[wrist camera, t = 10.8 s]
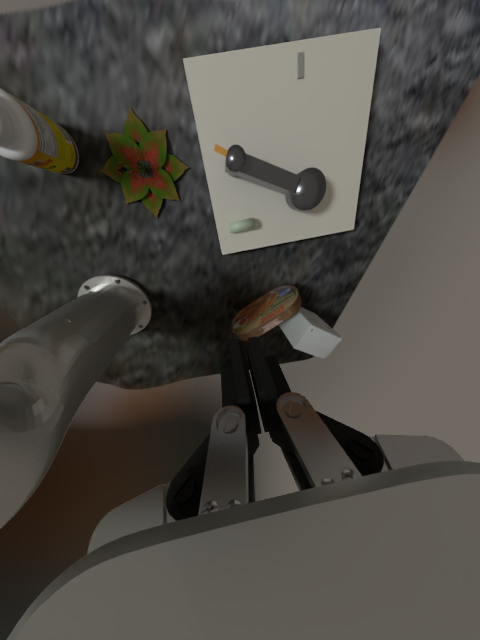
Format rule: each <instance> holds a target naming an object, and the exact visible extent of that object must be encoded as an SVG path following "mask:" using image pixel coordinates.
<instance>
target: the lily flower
mask: <svg viewBox="0 0 480 640" xmlns="http://www.w3.org/2000/svg"><path fill="white" fill-rule="evenodd" d="M104 133H105V135H106V137H107V140H108V142H109V147H110V149H111V152H112V154H113V156H112V157H110V158H109V159H108V160H107V162H106V163H105V165H104V169H103V168H102V169H101V170H100V172H103V173H104V174H106V175H107V176H110V178H111V179H113V180H115V181H116V182H118V183H121V184H122V190H123V194H124V197H125V198H126V204H128V203H131V202H132V201H137V200H140V199H141V201H142V202H143V204H144V205H145V206H146V208H147V209H148V210H149V211H150V212H151V213H153V214H154V216H155V217H156V218H157V215H158V213H159V210H160V208H161V205H162V201H163V198H164V199H170V200H174V199H176V200H177V201H180V200H179V198H178V195H177V192H176V189H175V186H174V183H173V182H174V181H175V180H177V179H178V178H179V177H180V176H181V175H182V174H183V173H184V170H186V169H188V168H189V167H187V166H186V165H185V164H183V163H182V162H180V161H179V160H178V159H177V158H176V157H174V156H173V155H171V154H168V153H166V148H167V144H166V136H165V134H166V129H164V130H159V131H158V132H156V131H151V132H148V131H147V130H146V128H145V126H144V125H143V123H142V122H141V121H140V120H139V118H138V117H137V116H136V115H134V112H133V111H132V109H131V107H130V112H129V114H128V120H126V122H125V126H124V134H120V133H110V134H109V133H108V132H104ZM137 136H138V138H139V140H140V148H139V147H138V145H137V144H136V143H137V139H138V138H137ZM137 161H140V162H141V164H139V165H141V166H139V168H138V167H137V166H138V165H137ZM142 161H147V162H148V161H150V163H151V165H150V166H152V170H153V177H149V178H144V177H143V178H141V176H140V173H141V172H145V173H146V171H147V170H148V168H149V167H150V166H149V167H148V168H147V169H146V167H145V163H147V162H145V163H143V164H142ZM140 162H139V163H140ZM162 166H163V167H165V168H166V170H163V169H161V167H162ZM122 167H125V168H126V169H128V170H127V171H126V172H125V173H123V172H121V171H117V170H120V169H122ZM140 167H142V168H140ZM138 170H140V171H138ZM145 173H144V176H145ZM149 188H150V190H151V191H152V195H151V193H150V192H149V191H148V190H149Z"/></svg>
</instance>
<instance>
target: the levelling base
mask: <svg viewBox="0 0 480 640" xmlns="http://www.w3.org/2000/svg"><path fill="white" fill-rule="evenodd" d="M380 32H381V28H375V29H369V30H363V31H356V32H350V33H344V34H337V35H331V36H324V37H318V38H312V39H305V40H299V41H292V42H286V43H280V44H273V45H267V46H261V47H254V48H248V49H241V50H235V51H229V52H222V53H216V54H210V55H203V56H197V57H190V58H184V59H183V62H184V67H185V72H186V77H187V82H188V87H189V92H190V97H191V102H192V107H193V112H194V117H195V122H196V127H197V132H198V137H199V142H200V147H201V152H202V157H203V162H204V167H205V172H206V177H207V182H208V187H209V192H210V197H211V202H212V207H213V212H214V217H215V221H216V226H217V231H218V236H219V241H220V246H221V251H222V255H224V254H230V253H235V252H240V251H245V250H250V249H255V248H261V247H266V246H271V245H276V244H281V243H287V242H292V241H297V240H302V239H307V238H313V237H318V236H323V235H328V234H333V233H338V232H344V231H349V230H354V224H355V217H356V209H357V202H358V194H359V187H360V180H361V172H362V165H363V158H364V150H365V143H366V135H367V128H368V121H369V113H370V106H371V98H372V91H373V84H374V76H375V69H376V61H377V54H378V47H379V39H380ZM232 145H240V146H241V147H242V148H243V149H244V151H245V153H246V154H248V155H251V156H253V157H256V158H258V159H261V160H263V161H265V162H268V163H270V164H273V165H275V166H277V167H280V168H282V169H285V170H287V171H290V172H292V173H294V174H297V173H299V172H301V171H303V170H305V169H307V168H311V167H314V168H317V169H319V170H320V171H321V172H322V173H323V174H324V176H325V179H326V191H325V195H324V197H323V199H322V201H321V202H320V203H319V204H318V205H317V206H316V207H315V208H313V209H311V210H303V211H295V210H293V209H291V208H290V207H289V206H288V204H287V202H286V198H285V194H282V193H280V192H277V191H274V190H272V189H269V188H266V187H264V186H261V185H258V184H256V183H253V182H250V181H248V180H245V179H242V178H240V177H237V176H234V177H233V176H230V175H229V174H228V173H226V172H225V160H226V156H227V152H228V149H229V148H230V147H231V146H232Z"/></svg>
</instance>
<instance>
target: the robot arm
mask: <svg viewBox="0 0 480 640" xmlns="http://www.w3.org/2000/svg"><path fill="white" fill-rule="evenodd" d="M119 280H120V281H119ZM145 301H146V302H145ZM151 316H152V305H151V302H150V299H149V297H148V296H147V294H146V293H145V292H144V291H143V289H142V288H141V287H139V286H138V285H137V284H136V283H134V282H133V281H131V280H129V279H127V278H124V277H122V276H118V275H111V274H105V275H99V276H95V277H93V278H91V279H89V280H87V281H86V282H85V283H83V285H82V286H81V287H80V289H79V292H78V298H76V299H74V300H73V301H71V302H69V303H67V304H66V305H64V306H62V307H60V308H59V309H57V310H55V311H53V312H51V313H50V314H48V315H47V316H45V317H43V318H41V319H40V320H38V321H36V322H34V323H33V324H31V325H29V326H27V327H26V328H24V329H22V330H20V331H18V332H17V333H15V334H13V335H12V336H10V337H9V338H7V339H6V340H4V341H3V342H2V343H1V344H0V529H1V528H2V527H3V526H4V525H5V524H6V523H7V522H8V521H9V520H10V519H11V518H12V517H13V516H14V515H15V514H16V513H17V512H18V510H19V509H20V508H21V507H22V506H23V505H24V504H25V502H26V501H27V500H28V499H29V498H30V496H31V495H32V494H33V492H34V491H35V490H36V488H37V487H38V485H39V484H40V482H41V481H42V479H43V477H44V476H45V474H46V472H47V471H48V469H49V467H50V466H51V464H52V462H53V460H54V458H55V456H56V454H57V452H58V449H59V447H60V445H61V443H62V440H63V438H64V436H65V433H66V431H67V429H68V427H69V425H70V423H71V421H72V419H73V417H74V415H75V413H76V412H77V410H78V408H79V406H80V405H81V403H82V401H83V400H84V398H85V397H86V395H87V394H88V392H89V391H90V389H91V388H92V387H93V385H94V384H95V382H96V381H97V380H98V378H99V377H100V375H101V374H102V373H103V371H104V370H105V369H106V367H107V366H108V365H109V363H110V362H111V360H112V359H113V358H114V356H115V355H116V353H117V352H118V351H119V349H120V348H121V347H122V345H123V344H124V342H125V341H126V340H127V338H128V337H129V335H132V334H135V333H138V332H140V331H141V330H143V329H144V328H145V327H146V326H147V324H148V323H149V321H150V320H151ZM229 343H230V351H231V359H232V364H229V365H225V366H221V387H222V407H223V408H221V409H220V410H219V411H218V412H217V413H216V414H215V416H214V418H213V422H212V428H211V433H210V434H209V435H208V436H207V438H206V439H205V440H204V442H203V443H202V444H201V445H200V446H199V448H198V449H197V450H196V451H195V453H194V454H193V455H192V456H191V457H190V459H189V460H188V461H187V462H186V464H185V465H184V466H183V468H182V469H181V470H180V471H179V472H178V473H177V475H176V476H175V477H174V479H173V480H172V482H170V483H168V484H166V485H164V484H161V485H159V486H157V487H156V488H154V489H152V490H150V491H148V492H146V493H144V494H142V495H140V496H138V497H136V498H134V499H133V500H130V501H128V502H126V503H125V504H123V505H121V506H119V507H117V508H115V509H113V510H112V511H110V512H109V513H108V514H106V516H105V517H104V518H103V519H102V520H101V521H100V522H99V524H98V526H97V527H96V529H95V531H94V532H93V535H92V538H91V541H90V544H89V548H88V553H87V555H86V556H85V557H83V558H82V559H80V560H78V561H77V562H76V563H74V564H73V565H72V566H71V567H70V568H68V569H67V570H66V571H64V572H63V573H62V574H61V575H60V576H58V577H57V579H55V580H54V581H53V582H52V583H51V584H50V585H49V586H48V587H47V588H46V589H45V590H44V591H43V592H42V593H41V594H40V595H39V596H38V597H37V598H36V600H35V601H34V602H33V603H32V604H31V605H30V607H29V608H28V610H27V611H26V612H25V614H24V615H23V617H22V618H21V619H20V620H19V622H18V623H17V625H16V626H15V628H14V629H13V631H12V633H11V634H10V636H9V637H8V639H7V640H480V463H476V462H468V461H464V460H463V459H462V458H461V456H460V455H459V454H458V453H457V452H456V451H455V450H454V449H453V448H452V447H451V446H449V445H448V444H446V443H445V442H443V441H441V440H439V439H436V438H434V437H429V436H407V435H375V437H368V436H367V435H365V434H363V433H361V432H359V431H357V430H355V429H353V428H351V427H349V426H346V425H345V424H342V423H340V422H338V421H336V420H334V419H332V418H330V417H328V416H326V415H324V414H321V413H319V412H317V411H315V410H314V408H313V407H312V405H311V404H310V403H309V401H308V400H307V399H306V398H305V397H304V396H302V395H301V394H298V393H293V392H291V390H290V388H289V386H288V383H287V381H286V379H285V377H284V375H283V372H282V370H281V368H280V366H279V364H278V361H277V359H276V357H275V355H272V356H267V357H264V354H263V352H262V349H261V346H260V344H259V341H258V338H257V336H255V337H250V338H248V341H245V345H246V350H247V356H248V361H249V367H250V372H251V377H252V381H253V385H254V389H255V394H256V398H257V401H258V406H259V410H260V414H261V418H262V423H263V427H264V431H265V432H269V434H270V438H272V441H273V442H274V443H275V444H277V445H278V446H280V447H281V450H282V452H283V455H284V457H285V459H286V462H287V464H288V466H289V468H290V470H291V473H292V475H293V477H294V480H295V482H296V484H297V487H298V489H299V491H298V492H294V493H290V494H286V495H282V496H278V497H273V498H269V499H265V500H261V501H257V500H256V477H255V456H254V453H255V452H256V450H257V448H258V447H259V445H260V444H259V440H258V435H257V434H260V433H261V427H260V422H259V416H258V411H257V405H256V400H255V395H254V390H253V386H252V382H251V377H250V373H249V369H248V365H247V360H246V356H245V352H244V348H243V343H242V342H238V340H236V341H231V342H229Z"/></svg>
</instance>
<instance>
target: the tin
mask: <svg viewBox="0 0 480 640" xmlns="http://www.w3.org/2000/svg"><path fill="white" fill-rule="evenodd" d="M301 303H302V300H301V297H300V295H299V293H298V289H297V288H296V287H295V286H292V285H283V286H279V287H277V288H274V289H272V290H271V291H269V292H268V293H266V294H265V295H263V296H261V297H260V298H258V299H257V300H255V301H254V302H252V303H251V304H249V305H247V306H246V307H244V308H243V309H241V310H240V311H239V312H238V313H237V314H236V315H235V316H234V318H233V319H232V321H231V324H230V330H231V331H232V332H233V333H234V334H235V335H236V337H237V338H239V339H240V340H242V341H248V338H250V337H255V336H257V338H258V337H260V336H261V335H263V334H265V333H266V332H268V331H270V330H271V329H273V328H275V327H276V326H278V325H280V324H281V323H283V322H285V321H286V320H288V319H289V318H291V317H292V316H294V315H295V314H296V313H297V312H298V310H299V309H300V307H301Z"/></svg>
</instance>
